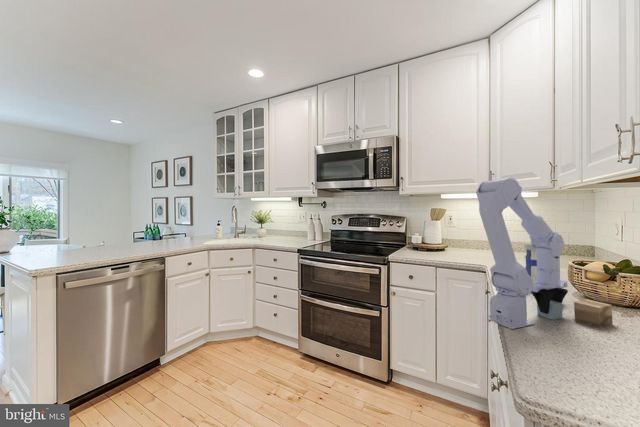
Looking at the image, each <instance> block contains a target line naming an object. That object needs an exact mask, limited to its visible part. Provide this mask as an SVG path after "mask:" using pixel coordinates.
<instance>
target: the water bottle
mask: <svg viewBox="0 0 640 427" xmlns="http://www.w3.org/2000/svg"><path fill="white" fill-rule="evenodd" d="M522 248H523V249H525V256H524V259H525V265H524V268H526V270H527V273H528V275H529V276H530V277H531V278H532V280H533V284H534V283H535V282H537V253H536V248H535V247H534V246H532V244H531V242H524V243H523V245H522Z"/></svg>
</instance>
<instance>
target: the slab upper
mask: <svg viewBox="0 0 640 427" xmlns="http://www.w3.org/2000/svg"><path fill="white" fill-rule="evenodd" d="M573 310H574V313H575V312H578V313H582V314H585V315H589V316H592V317H596V318H603V317H607V316H611V315H612V316H613V305H612V304H608V303H605V302H600V301H597V300H591V299H589V298H588V299H581V300H577V301H573Z"/></svg>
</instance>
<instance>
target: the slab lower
mask: <svg viewBox="0 0 640 427" xmlns="http://www.w3.org/2000/svg"><path fill="white" fill-rule="evenodd" d="M575 321H576V322H579V323H581V324H582V323H583V324H586V325H588V326H592V327H596V328H598V329H599V328H604V327H608V326H612V325H614V322H613V314H612V315H611V316H607V317H603V318H596V317H592V316H589V315H585V314H582V313H578V312H574V322H575Z"/></svg>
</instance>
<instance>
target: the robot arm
mask: <svg viewBox="0 0 640 427" xmlns="http://www.w3.org/2000/svg"><path fill="white" fill-rule="evenodd" d="M475 193H476V197H477V200H478V209H479V210H478V211H479V215H480V218H481V221H482V225H483V227H484V231H485V234H486V237H487V240H488V244H489V248H490V249H491V253H492V255H493V260H494V262H495V264H493V265H492V266H491V267H490V282H491V285H492V286H493V287H494V288H495V291H497V293H496V294H495V295H493V296H491V298H490V299H489V300H490V301H489V310H490V312H489V314H490V315H489V317H488V318H487V319H488V321H491V322H493V323H495V324H498V325H500V326H503V327H506V328H508V329H510V330H514V329H518V328H519V329H520V328H524V327H528V326H532V325H535V322H534V321H531V320H528V315H527V314H528V312H527V311H528V310H527V309H528V308H527V296H529V295H530V293H531V294H532V296H533V297H534V299H535V301H536V305H537V304H538V307H539V310H540V312H542V313H545V314H548V313H549V306H550V300H552V301H555V302H559V303H562V304H563V300H564V298H565V297H566V296H567V294H568V293H569V292H568V291H569V290H568V289H566V288H568V281H567V280H563V279H561V266H560V265H561V264H560V262H561V261H560V257H561V256H562V254H563V251H562V250H563V248H564V246H565V240H564V238H563V236H562V235H561V234H559V233H557V232H555V231H553V230H552V228H551V227H550V225H549V224H548V223H547V222H546V221H545V219H544V217H543V216H542V215H539V214H535V213H534V212H533V211H532V209H531V208H530V207H529V205H528V203H527V201H526V200H525V198H524V197H523V195H522V186H521V185H520V183H519V181H518V180H517V179H515V178H514V177H507V178H502V179H494V180H489V181H488V180H486V181H482V182H481V183H480V184H479V185H478V188H477V189H476V191H475ZM508 207H509V208H510V209H511V210H512V211H513V212H514V213H515V214H516V215H517V216H518V217H519V219H520V220H521V223H520V225H521V227H522V228H523V229H524V231H526V233H527V234H528V236H529V238H530V243H531V244H532V246H534V247H535V248H536V253H537V282H535V283H534V284H533V280H532V278H531V277H530V276H529V275H528V273H527V270H526V268H525V266H523V265H522V264H520V262H518V261H517V259H516V255H515V252H514V249H513V245H512V242H511V239H510V235H509V232H508V228H507V226H506V225H507V224H506V222H505V219H504V216H503V211H504V210H505V209H507V208H508Z"/></svg>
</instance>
